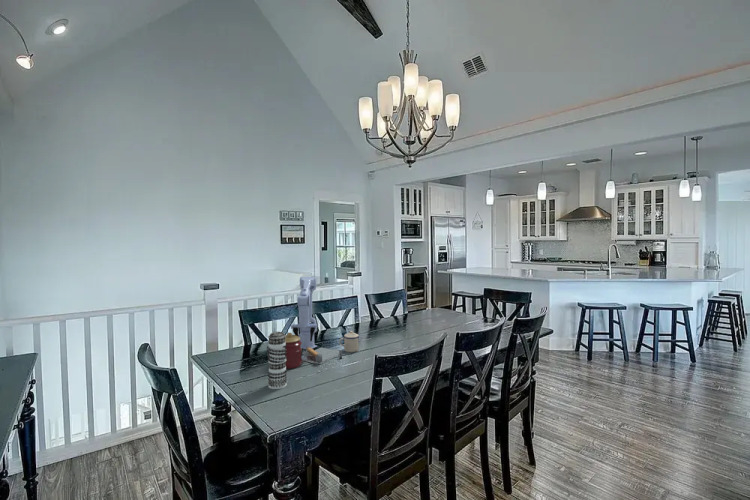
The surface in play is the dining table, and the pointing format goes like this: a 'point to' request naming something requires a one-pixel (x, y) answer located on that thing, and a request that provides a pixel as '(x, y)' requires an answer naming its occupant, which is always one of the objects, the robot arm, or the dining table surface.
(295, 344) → the canister
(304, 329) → the robot arm
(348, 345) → the teacup with lid
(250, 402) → the dining table surface
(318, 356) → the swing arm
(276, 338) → the decorative candle
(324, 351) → the base plate
